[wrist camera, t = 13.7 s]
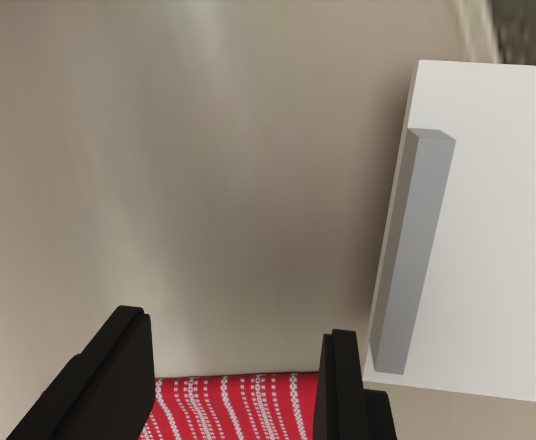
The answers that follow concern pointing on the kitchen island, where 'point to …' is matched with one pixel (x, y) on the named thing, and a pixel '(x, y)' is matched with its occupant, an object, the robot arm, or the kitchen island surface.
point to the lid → (460, 237)
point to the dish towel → (233, 408)
